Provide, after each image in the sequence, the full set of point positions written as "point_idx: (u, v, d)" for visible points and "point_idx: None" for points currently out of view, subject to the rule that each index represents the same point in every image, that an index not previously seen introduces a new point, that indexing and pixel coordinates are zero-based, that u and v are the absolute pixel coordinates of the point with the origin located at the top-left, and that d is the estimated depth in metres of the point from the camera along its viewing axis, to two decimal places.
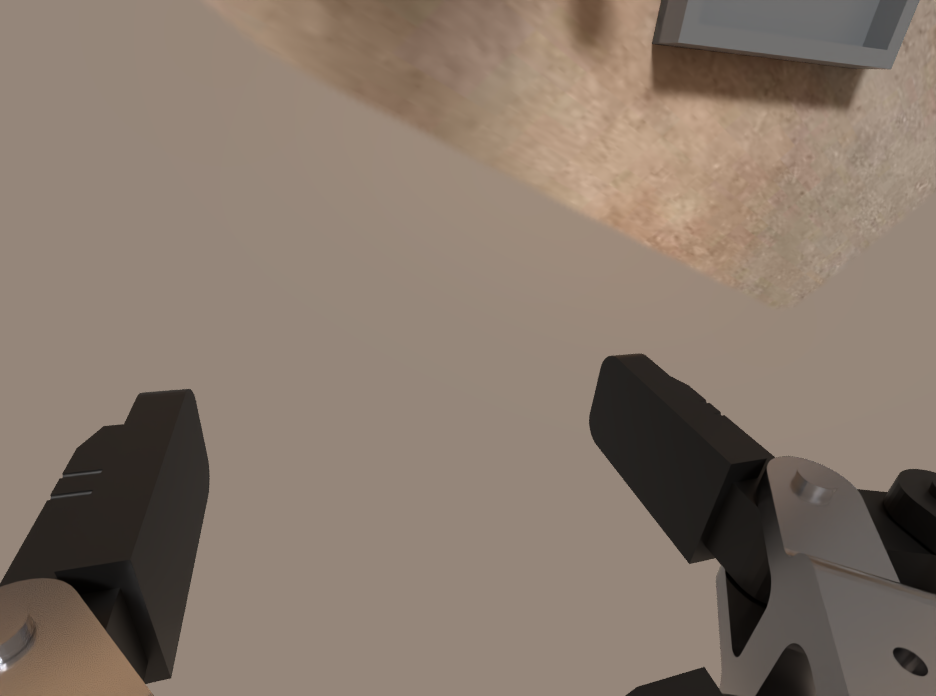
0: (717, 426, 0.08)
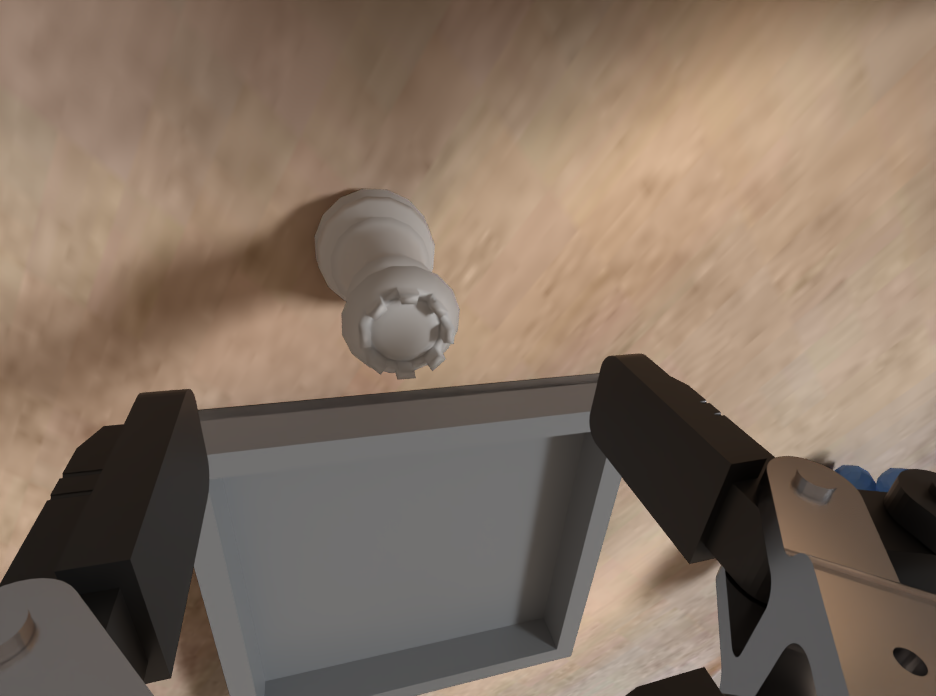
0: (717, 426, 0.08)
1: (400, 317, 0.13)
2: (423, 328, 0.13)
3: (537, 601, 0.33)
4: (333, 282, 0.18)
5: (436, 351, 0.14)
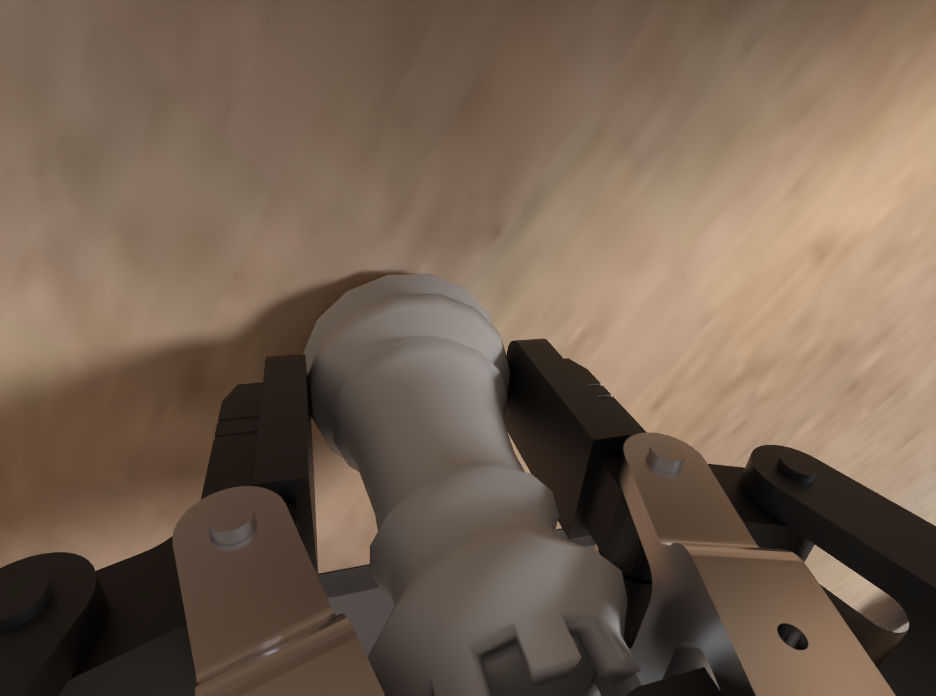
0: (593, 405, 0.09)
1: (516, 682, 0.05)
2: (565, 687, 0.06)
3: None
4: (336, 443, 0.10)
5: None
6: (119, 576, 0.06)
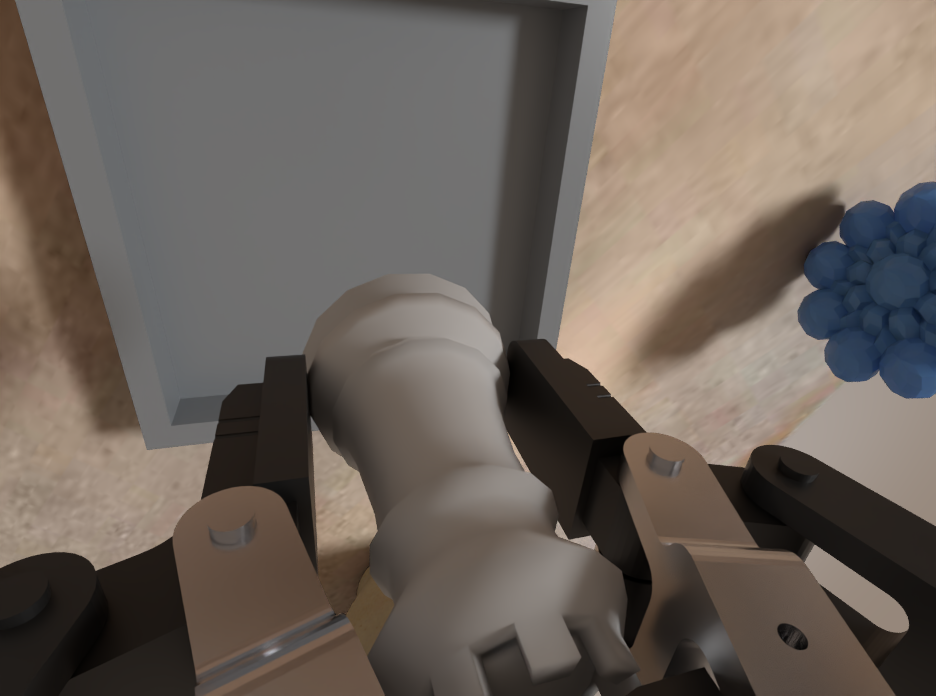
0: (593, 405, 0.09)
1: (516, 682, 0.05)
2: (564, 686, 0.06)
3: (507, 339, 0.29)
4: None
5: None
6: (119, 575, 0.06)
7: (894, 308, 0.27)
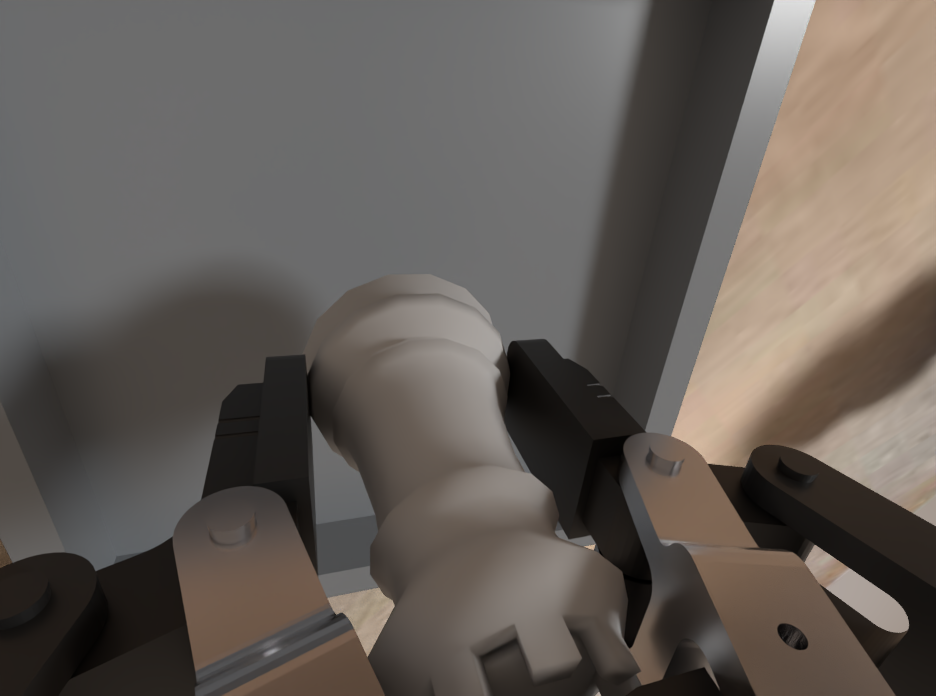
0: (593, 405, 0.09)
1: (517, 683, 0.05)
2: (565, 687, 0.06)
3: None
4: (336, 443, 0.10)
5: None
6: (119, 575, 0.06)
7: None
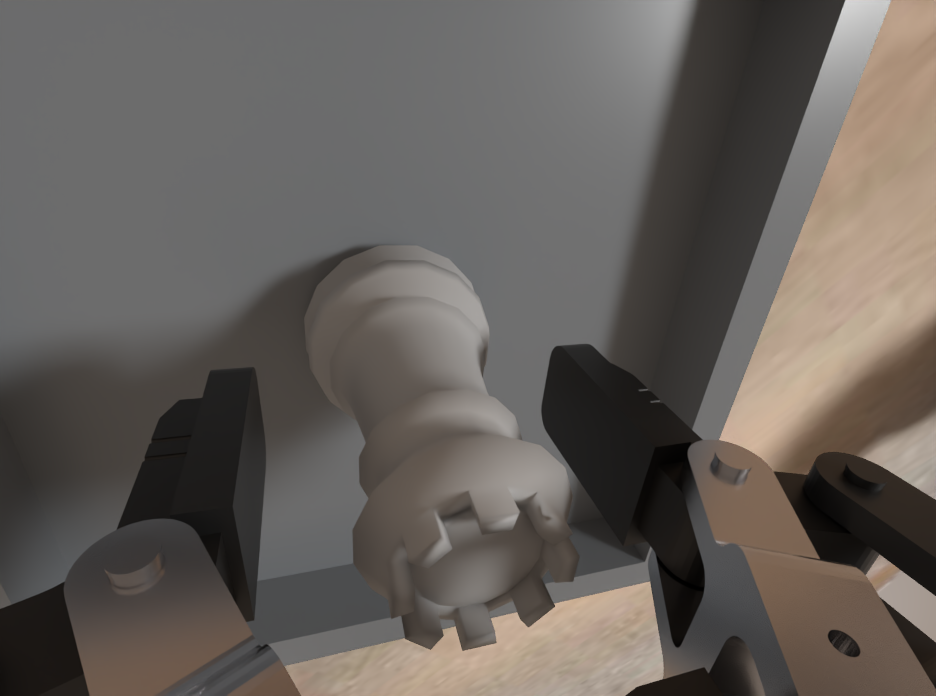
0: (649, 412, 0.09)
1: (473, 544, 0.06)
2: (515, 555, 0.07)
3: None
4: (333, 394, 0.11)
5: (536, 587, 0.07)
6: (7, 622, 0.05)
7: None
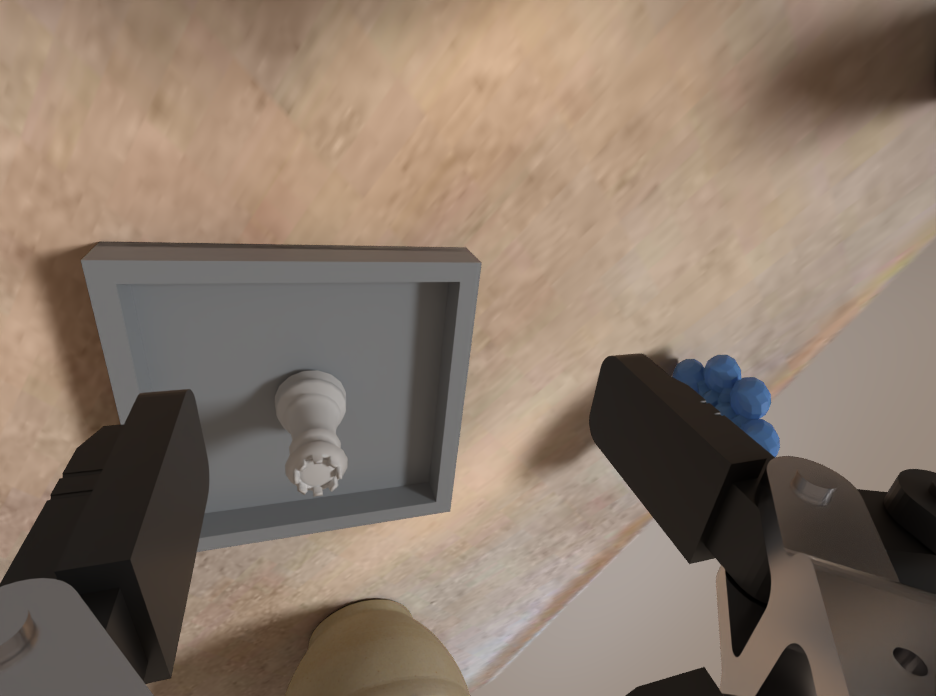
0: (717, 426, 0.08)
1: (314, 468, 0.27)
2: (326, 471, 0.27)
3: (421, 464, 0.39)
4: (284, 425, 0.31)
5: (334, 481, 0.27)
6: None
7: None
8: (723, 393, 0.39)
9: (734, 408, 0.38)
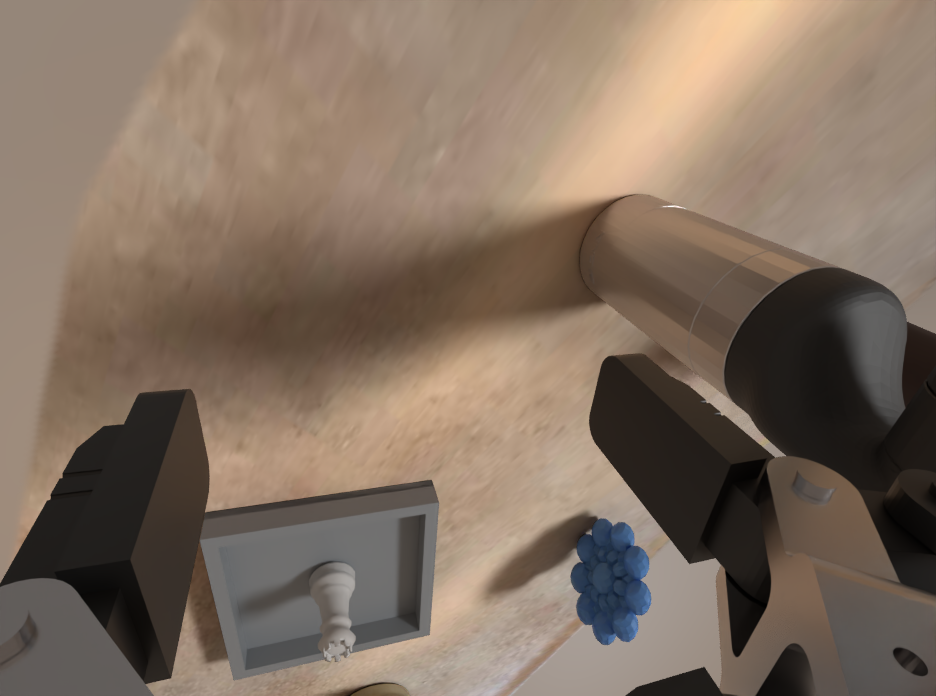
0: (717, 426, 0.08)
1: (335, 646, 0.44)
2: (342, 647, 0.44)
3: (409, 602, 0.56)
4: None
5: (347, 651, 0.45)
6: None
7: (600, 593, 0.55)
8: (619, 556, 0.55)
9: (625, 569, 0.54)
